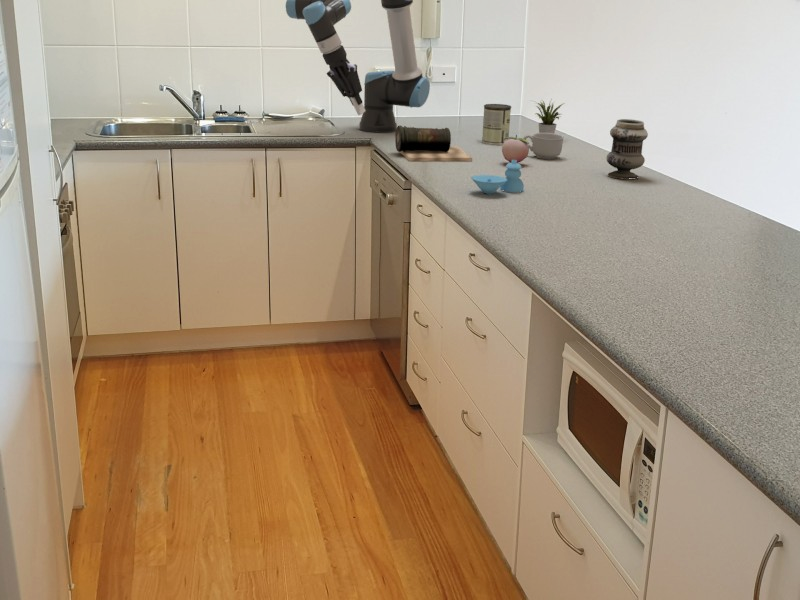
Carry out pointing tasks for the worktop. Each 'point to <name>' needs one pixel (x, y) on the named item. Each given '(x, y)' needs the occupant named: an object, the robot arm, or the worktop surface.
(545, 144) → the teacup
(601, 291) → the worktop surface
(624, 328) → the worktop surface
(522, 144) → the decorative fruit
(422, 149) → the container
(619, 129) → the apothecary jar
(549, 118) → the house plant
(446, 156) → the wooden cutting board
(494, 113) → the coffee can
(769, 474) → the worktop surface
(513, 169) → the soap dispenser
